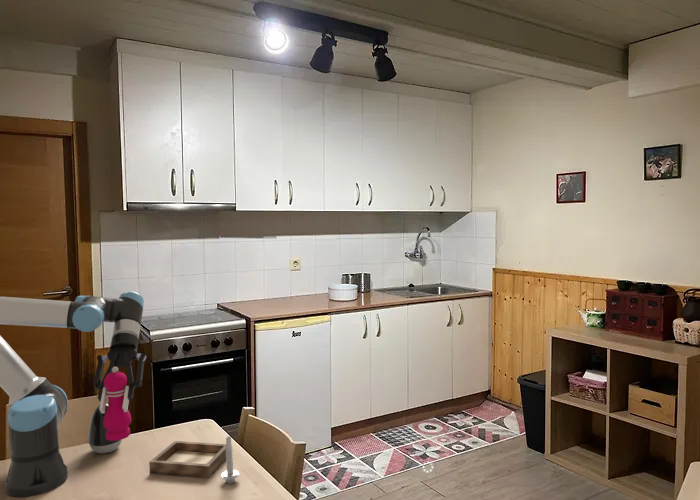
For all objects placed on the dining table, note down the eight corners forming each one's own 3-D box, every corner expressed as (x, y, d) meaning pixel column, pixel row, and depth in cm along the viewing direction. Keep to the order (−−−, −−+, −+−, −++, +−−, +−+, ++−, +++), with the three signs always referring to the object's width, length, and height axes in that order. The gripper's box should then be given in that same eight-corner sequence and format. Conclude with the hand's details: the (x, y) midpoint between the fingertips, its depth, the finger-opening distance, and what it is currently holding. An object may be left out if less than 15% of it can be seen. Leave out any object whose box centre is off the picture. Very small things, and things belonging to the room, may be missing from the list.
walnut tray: (149, 473, 155) (149, 461, 154) (175, 451, 169) (174, 440, 168) (209, 478, 151) (208, 466, 151) (230, 455, 165) (229, 444, 165)
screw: (239, 476, 152) (238, 485, 147) (222, 478, 151) (220, 486, 146) (238, 431, 151) (236, 439, 146) (220, 433, 150) (218, 440, 145)
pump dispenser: (87, 460, 164) (84, 411, 163) (89, 446, 174) (87, 401, 173) (123, 453, 168) (121, 406, 167) (123, 441, 178) (121, 396, 177)
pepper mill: (121, 442, 147) (118, 371, 146) (98, 440, 149) (95, 369, 147) (137, 432, 154) (134, 363, 153) (114, 430, 156) (111, 362, 154)
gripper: (158, 343, 166) (150, 413, 151) (96, 346, 163) (81, 418, 148) (155, 329, 161) (145, 402, 146) (90, 332, 158) (74, 407, 143)
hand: (113, 410), depth 147 cm, fingers closed on pepper mill, 5 cm apart
